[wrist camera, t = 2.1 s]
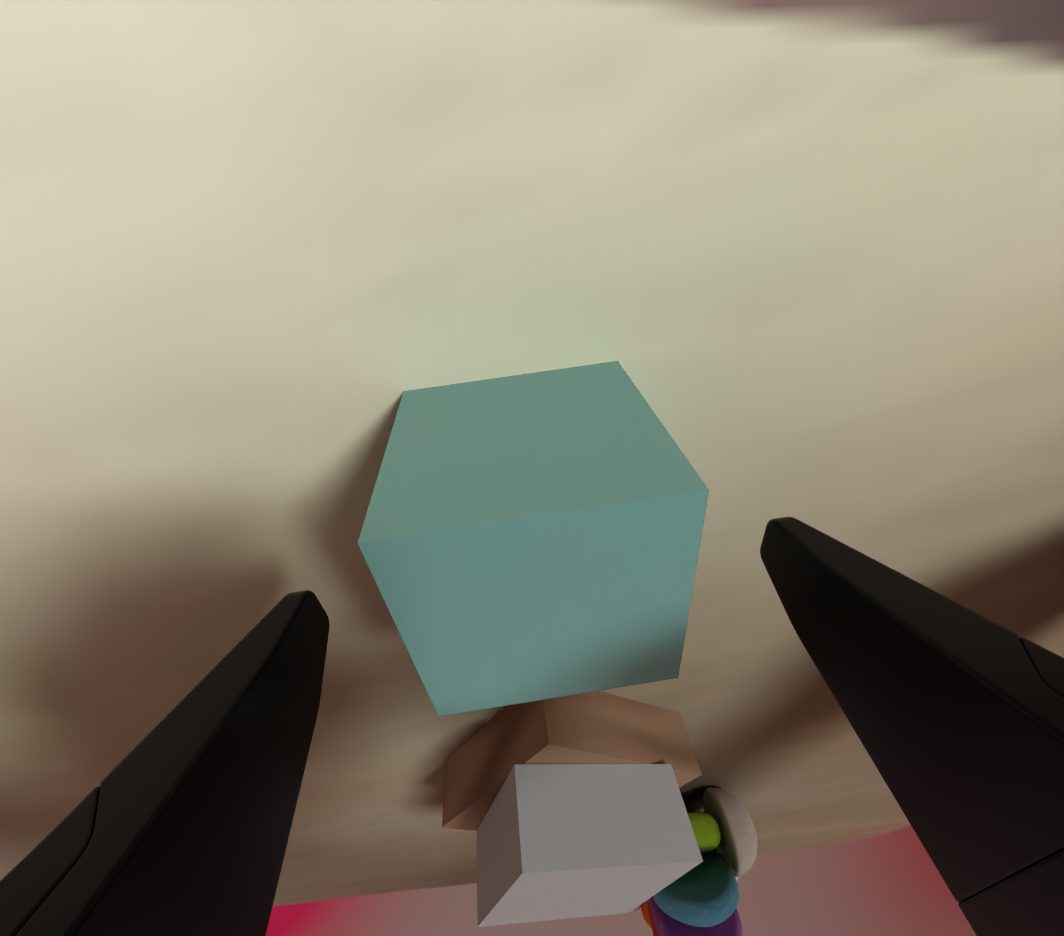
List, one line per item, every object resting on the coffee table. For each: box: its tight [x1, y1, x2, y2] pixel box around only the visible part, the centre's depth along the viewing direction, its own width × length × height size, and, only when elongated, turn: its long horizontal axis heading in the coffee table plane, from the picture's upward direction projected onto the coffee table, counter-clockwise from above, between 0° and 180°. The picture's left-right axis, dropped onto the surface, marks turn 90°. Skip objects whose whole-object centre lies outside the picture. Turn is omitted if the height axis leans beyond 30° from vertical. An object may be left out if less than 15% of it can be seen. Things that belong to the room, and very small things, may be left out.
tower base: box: [442, 691, 702, 831], centre depth 20 cm, size 8×8×3 cm
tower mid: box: [477, 764, 703, 927], centre depth 17 cm, size 6×6×3 cm
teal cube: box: [358, 361, 709, 716], centre depth 10 cm, size 5×5×5 cm
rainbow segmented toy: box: [634, 787, 758, 936], centre depth 25 cm, size 8×10×7 cm
